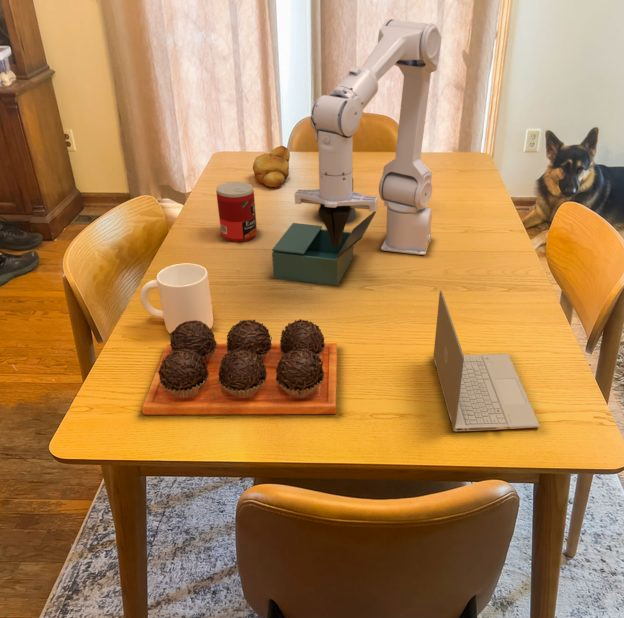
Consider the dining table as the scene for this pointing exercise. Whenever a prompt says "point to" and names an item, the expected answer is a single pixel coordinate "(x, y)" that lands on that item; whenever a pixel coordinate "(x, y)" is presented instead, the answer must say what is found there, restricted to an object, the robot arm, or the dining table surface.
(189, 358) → the truffle serving tray
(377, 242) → the dining table surface
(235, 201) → the canned food
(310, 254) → the storage box
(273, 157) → the bread roll
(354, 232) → the lid
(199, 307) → the mug
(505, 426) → the laptop
